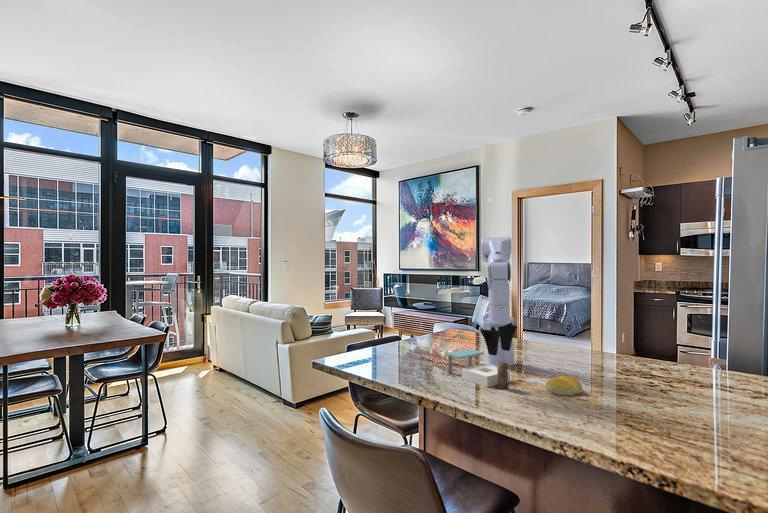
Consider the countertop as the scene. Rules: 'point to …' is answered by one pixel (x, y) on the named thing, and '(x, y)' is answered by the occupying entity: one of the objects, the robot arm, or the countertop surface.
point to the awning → (462, 354)
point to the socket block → (482, 375)
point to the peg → (502, 375)
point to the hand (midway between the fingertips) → (499, 352)
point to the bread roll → (564, 386)
